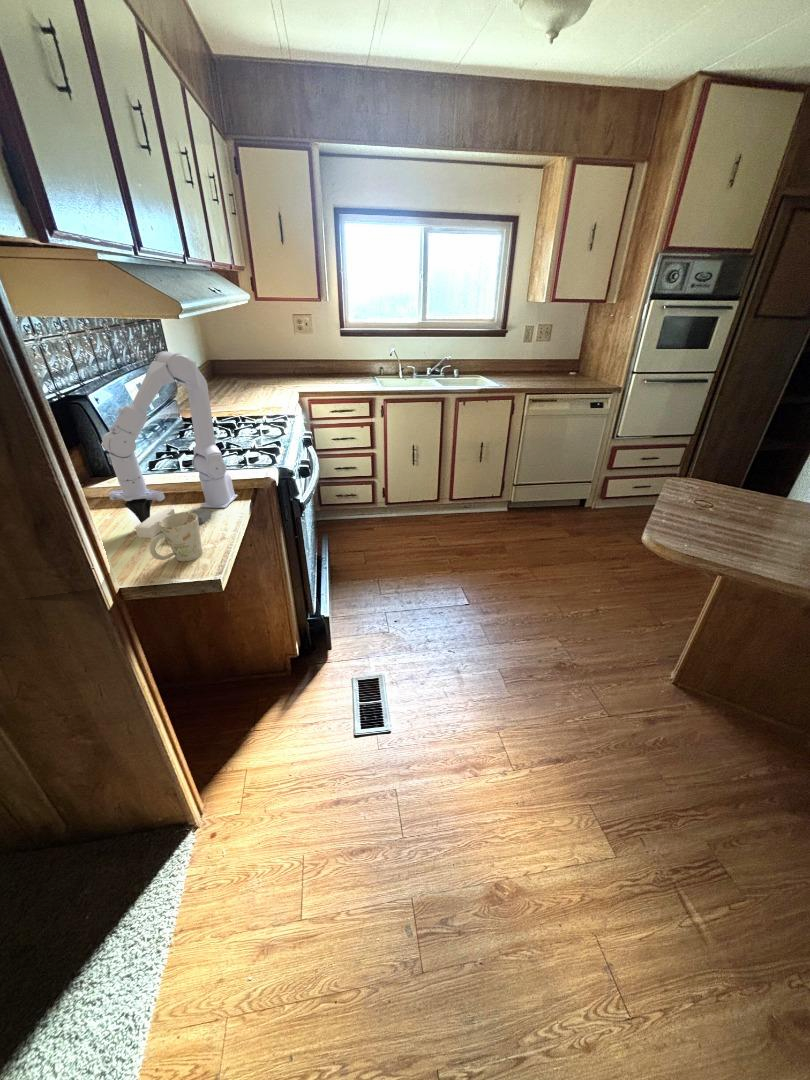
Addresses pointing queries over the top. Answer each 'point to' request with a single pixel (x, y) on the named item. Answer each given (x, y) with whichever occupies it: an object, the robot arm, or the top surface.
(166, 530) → the mug
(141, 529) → the t block
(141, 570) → the top surface
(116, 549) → the top surface
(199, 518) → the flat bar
